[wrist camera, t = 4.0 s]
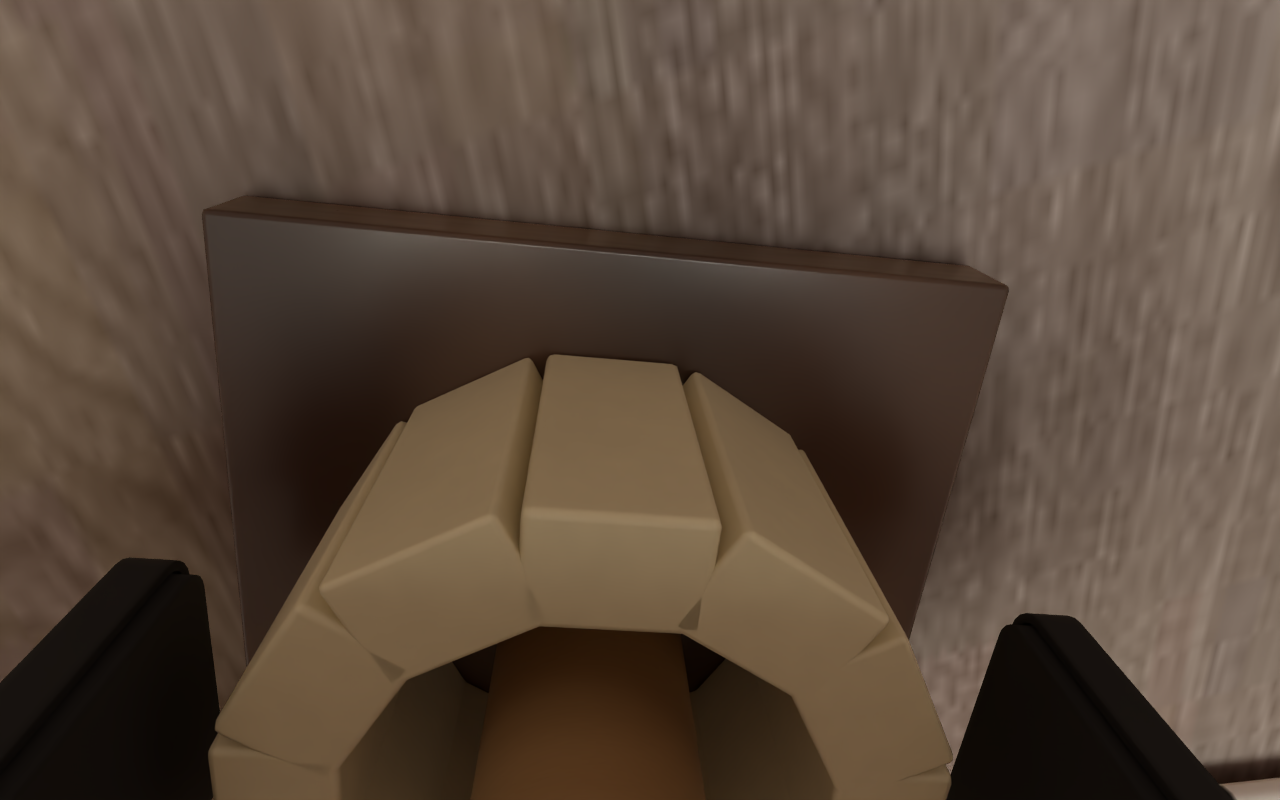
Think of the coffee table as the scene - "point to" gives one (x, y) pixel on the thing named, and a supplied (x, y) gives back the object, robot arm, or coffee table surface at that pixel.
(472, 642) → the segmented block ring
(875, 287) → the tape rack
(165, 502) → the coffee table surface
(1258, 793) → the pen
